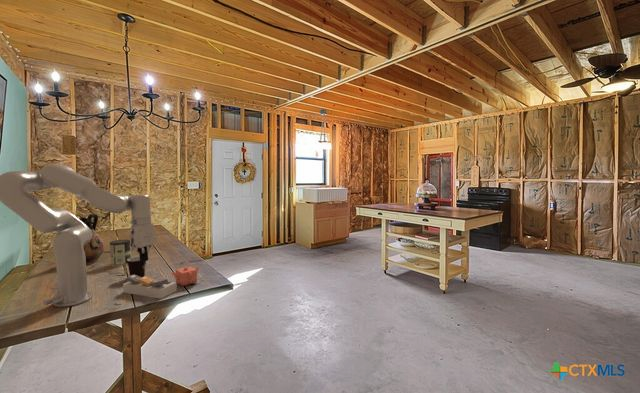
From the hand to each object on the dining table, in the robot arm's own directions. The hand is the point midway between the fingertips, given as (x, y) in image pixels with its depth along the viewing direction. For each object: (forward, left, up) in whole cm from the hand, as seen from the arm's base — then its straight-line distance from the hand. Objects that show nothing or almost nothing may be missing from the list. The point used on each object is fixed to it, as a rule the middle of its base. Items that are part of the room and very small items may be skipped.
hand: (144, 260), depth 130 cm
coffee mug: (+16, +21, -15) cm, 30 cm away
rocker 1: (0, +5, -9) cm, 11 cm away
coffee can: (+29, +51, -15) cm, 61 cm away
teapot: (+15, -10, -15) cm, 24 cm away
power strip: (+1, +1, -15) cm, 15 cm away
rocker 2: (0, -2, -9) cm, 9 cm away
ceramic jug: (+27, +74, -15) cm, 80 cm away
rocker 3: (0, -9, -9) cm, 13 cm away
